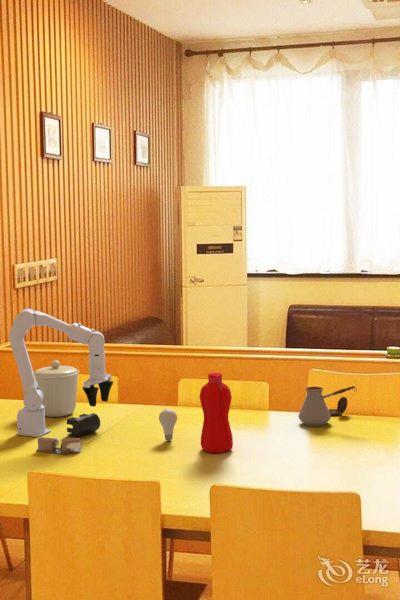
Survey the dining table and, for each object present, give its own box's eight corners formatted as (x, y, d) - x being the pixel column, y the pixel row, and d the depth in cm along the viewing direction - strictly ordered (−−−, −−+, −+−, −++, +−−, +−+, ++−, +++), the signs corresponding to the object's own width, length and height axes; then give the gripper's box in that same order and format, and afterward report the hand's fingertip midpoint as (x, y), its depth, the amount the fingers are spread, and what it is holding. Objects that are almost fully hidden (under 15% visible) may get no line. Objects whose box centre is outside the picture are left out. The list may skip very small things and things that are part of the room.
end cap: (80, 439, 274) (79, 420, 274) (66, 436, 279) (65, 417, 278) (101, 432, 282) (100, 414, 281) (86, 430, 286) (86, 411, 286)
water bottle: (213, 457, 250) (211, 378, 247) (197, 448, 260) (195, 372, 257) (239, 452, 254) (237, 374, 252) (222, 444, 264) (220, 369, 261)
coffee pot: (293, 425, 284) (292, 384, 282) (306, 418, 294) (305, 378, 292) (350, 432, 273) (350, 389, 271) (362, 424, 283) (361, 383, 281)
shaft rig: (36, 451, 262) (35, 438, 261) (46, 446, 267) (45, 434, 266) (73, 455, 255) (72, 443, 255) (83, 451, 260) (82, 438, 260)
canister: (77, 419, 301) (74, 364, 299) (29, 420, 302) (26, 365, 299) (84, 408, 319) (82, 355, 317) (39, 409, 319) (36, 356, 317)
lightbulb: (180, 439, 271) (180, 407, 270) (172, 444, 265) (171, 411, 264) (164, 437, 273) (163, 406, 272) (156, 442, 268) (155, 410, 267)
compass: (330, 411, 303) (330, 392, 302) (348, 414, 298) (348, 395, 297) (318, 416, 297) (318, 396, 296) (337, 419, 292) (337, 399, 291)
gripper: (95, 370, 275) (96, 409, 277) (117, 362, 288) (119, 399, 290) (78, 369, 278) (79, 407, 280) (101, 361, 291) (102, 398, 293)
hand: (98, 403), depth 285 cm, fingers open, 7 cm apart
